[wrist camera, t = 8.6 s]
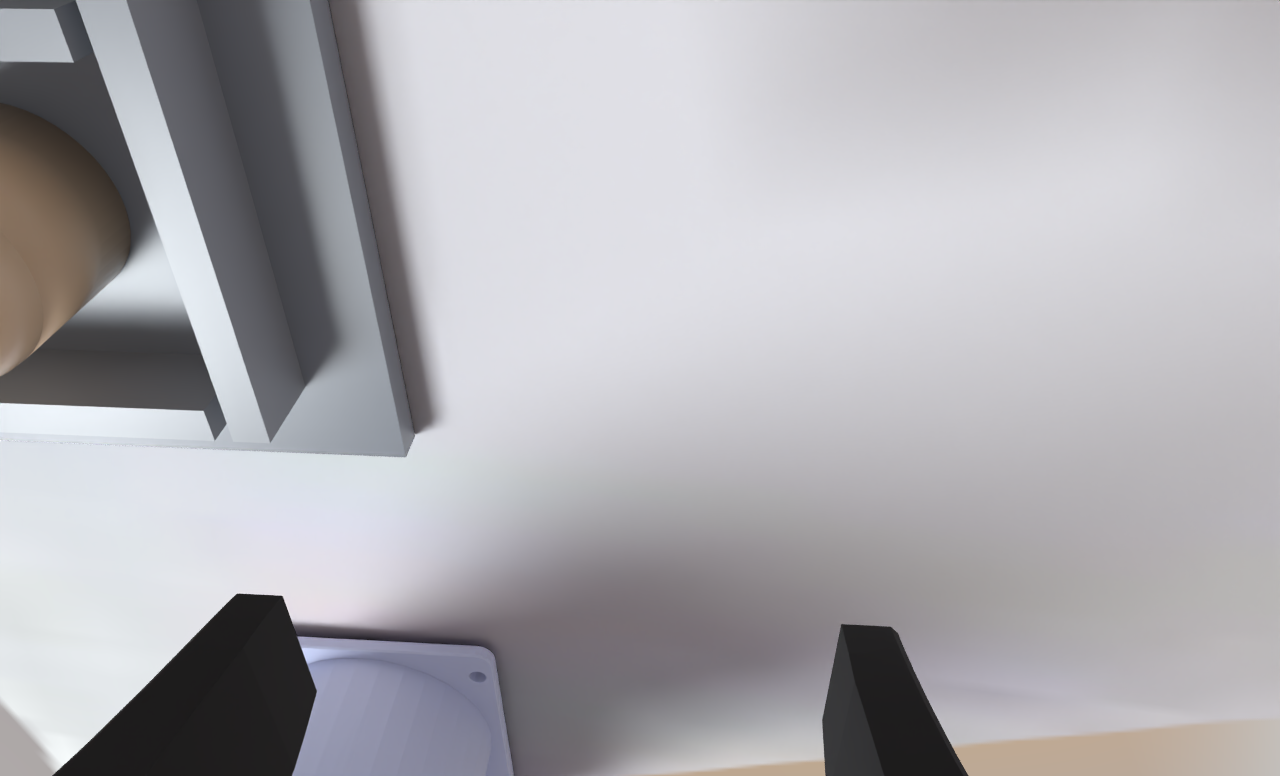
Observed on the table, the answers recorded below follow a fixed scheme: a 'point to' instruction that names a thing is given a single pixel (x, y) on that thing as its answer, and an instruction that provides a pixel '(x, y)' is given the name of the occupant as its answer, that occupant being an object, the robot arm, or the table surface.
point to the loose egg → (51, 232)
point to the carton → (211, 233)
